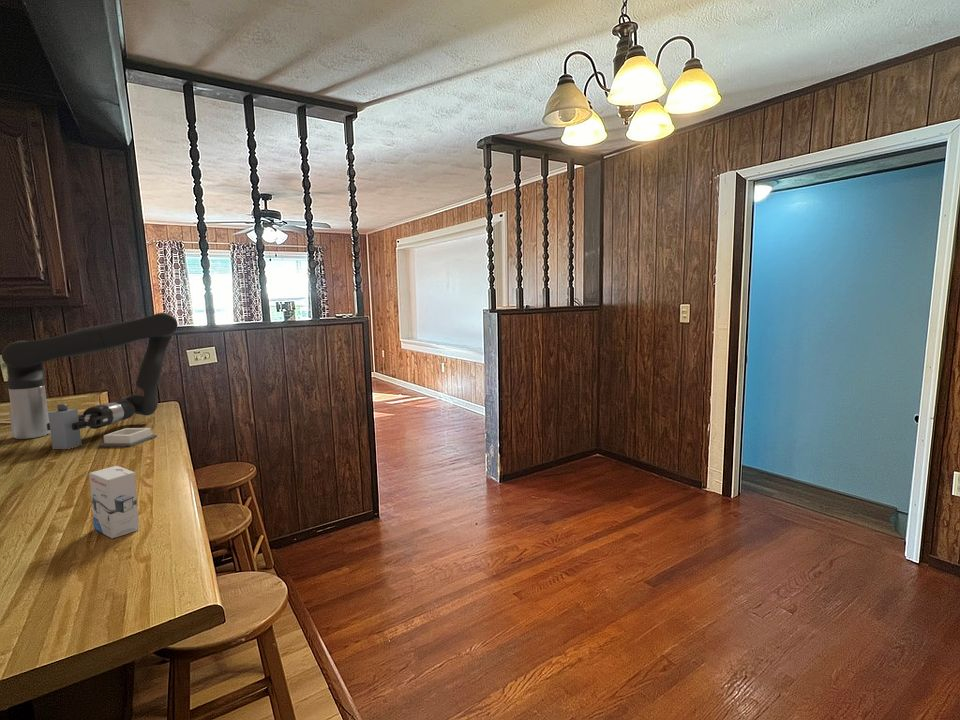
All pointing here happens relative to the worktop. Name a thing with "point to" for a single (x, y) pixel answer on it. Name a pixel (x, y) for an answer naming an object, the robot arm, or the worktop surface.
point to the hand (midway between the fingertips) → (60, 427)
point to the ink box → (114, 501)
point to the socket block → (127, 437)
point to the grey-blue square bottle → (64, 427)
